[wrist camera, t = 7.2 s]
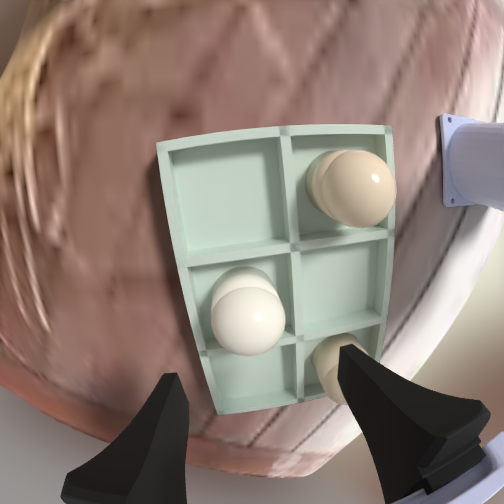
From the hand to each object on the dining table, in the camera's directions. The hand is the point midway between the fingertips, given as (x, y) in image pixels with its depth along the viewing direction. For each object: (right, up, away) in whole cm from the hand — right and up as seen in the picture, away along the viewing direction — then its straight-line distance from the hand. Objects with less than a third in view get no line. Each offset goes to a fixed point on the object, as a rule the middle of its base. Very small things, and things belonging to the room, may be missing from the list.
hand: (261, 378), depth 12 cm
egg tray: (+2, +3, +9) cm, 10 cm away
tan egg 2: (+7, -3, +11) cm, 13 cm away
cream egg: (-1, +2, +8) cm, 9 cm away
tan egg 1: (+5, +10, +6) cm, 13 cm away
